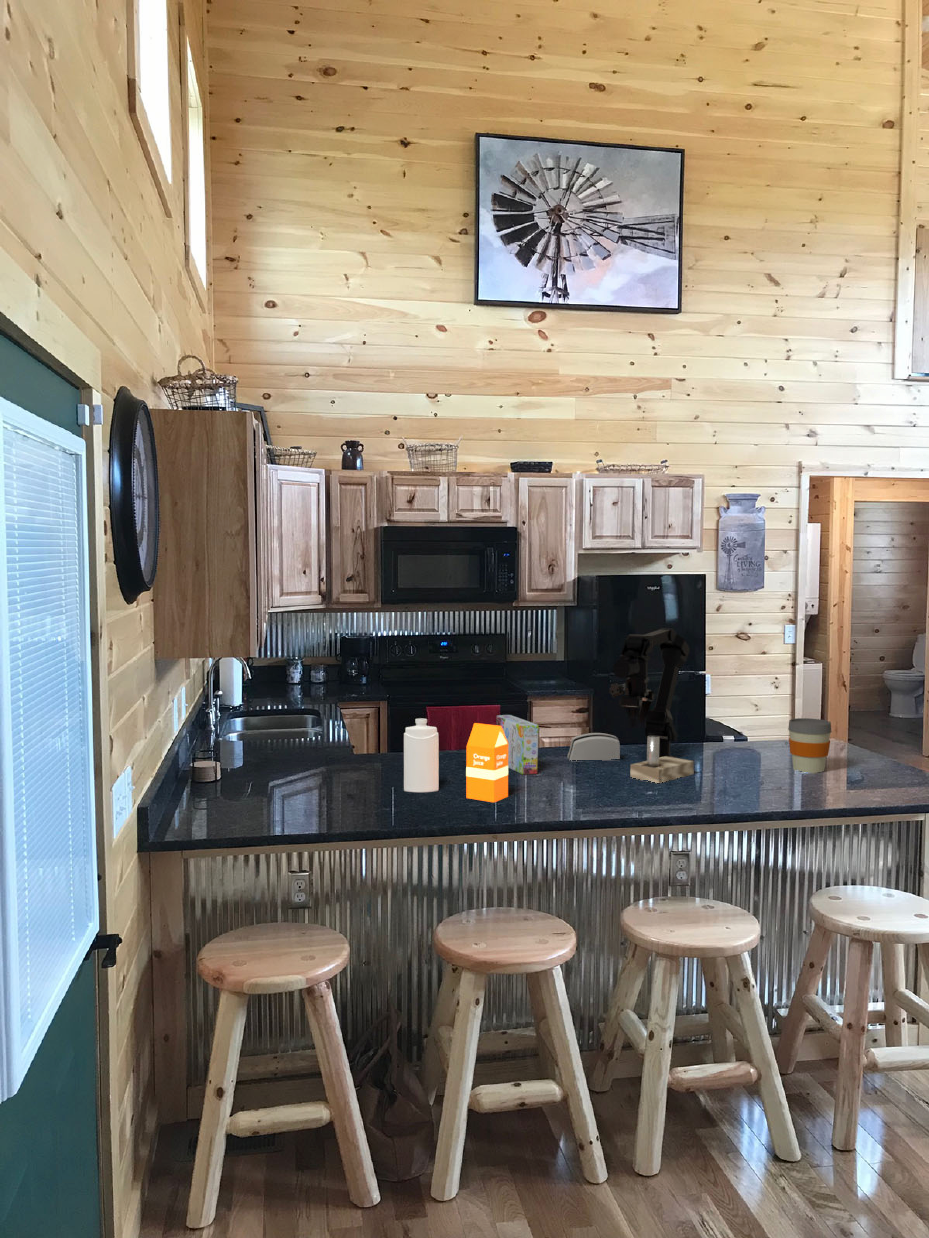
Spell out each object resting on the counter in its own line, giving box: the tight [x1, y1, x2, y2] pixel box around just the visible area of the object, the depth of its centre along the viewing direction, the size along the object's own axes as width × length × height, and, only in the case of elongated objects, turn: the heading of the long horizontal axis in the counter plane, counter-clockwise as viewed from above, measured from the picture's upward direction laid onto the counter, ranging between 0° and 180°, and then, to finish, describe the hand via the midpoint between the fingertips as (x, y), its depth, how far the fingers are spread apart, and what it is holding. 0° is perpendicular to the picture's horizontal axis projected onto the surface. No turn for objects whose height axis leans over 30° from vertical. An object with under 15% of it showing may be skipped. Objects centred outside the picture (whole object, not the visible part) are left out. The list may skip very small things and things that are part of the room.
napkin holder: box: [566, 732, 621, 762], centre depth 316 cm, size 17×5×10 cm, turn 98°
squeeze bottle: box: [403, 717, 440, 793], centre depth 274 cm, size 10×20×5 cm
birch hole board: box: [629, 756, 695, 784], centre depth 293 cm, size 18×10×4 cm, turn 134°
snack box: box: [495, 714, 540, 776], centre depth 304 cm, size 21×6×15 cm, turn 22°
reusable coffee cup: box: [787, 717, 832, 774], centre depth 302 cm, size 13×13×15 cm
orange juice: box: [465, 722, 509, 803], centre depth 267 cm, size 8×9×20 cm
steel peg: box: [646, 736, 659, 768], centre depth 290 cm, size 4×4×12 cm
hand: (637, 725), depth 305 cm, fingers open, 9 cm apart
